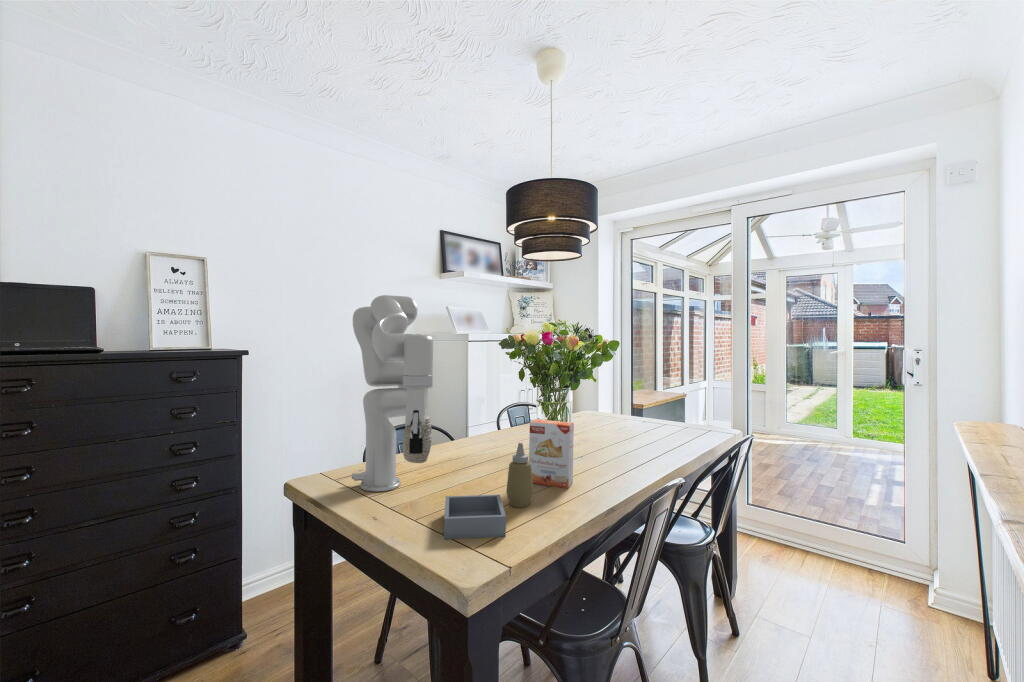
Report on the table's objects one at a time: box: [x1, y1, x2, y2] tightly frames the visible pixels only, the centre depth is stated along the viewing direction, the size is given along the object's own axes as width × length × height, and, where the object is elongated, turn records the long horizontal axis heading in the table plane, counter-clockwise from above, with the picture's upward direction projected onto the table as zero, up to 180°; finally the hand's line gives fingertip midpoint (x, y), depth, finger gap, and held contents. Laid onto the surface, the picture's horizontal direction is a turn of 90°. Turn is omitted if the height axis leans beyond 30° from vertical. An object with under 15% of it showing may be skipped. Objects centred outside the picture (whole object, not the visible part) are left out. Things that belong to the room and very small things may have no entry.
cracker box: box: [528, 418, 575, 489], centre depth 149 cm, size 14×6×21 cm, turn 68°
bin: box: [443, 494, 507, 540], centre depth 115 cm, size 15×15×5 cm
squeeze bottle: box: [506, 442, 534, 508], centre depth 130 cm, size 8×8×18 cm
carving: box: [402, 415, 433, 464], centre depth 116 cm, size 6×8×12 cm
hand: (417, 449), depth 117 cm, fingers closed on carving, 6 cm apart
